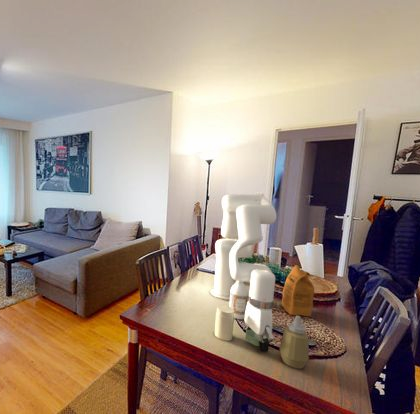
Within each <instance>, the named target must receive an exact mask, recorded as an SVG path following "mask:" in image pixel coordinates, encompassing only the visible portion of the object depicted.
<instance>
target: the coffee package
mask: <svg viewBox="0 0 420 414" xmlns="http://www.w3.org/2000/svg"><path fill="white" fill-rule="evenodd" d="M310 275H311V273H310V272H308V271H305V270H302V269H301V267H300V266H299V265H298V264H295V265H294V267H293V268H292V269H291V271H290V272H289V274H287V277H286V279H285V283H284V285H283V290H282V299H281V307H283V309H284V311H285V312H287V314H289V315H291V316H303V317H312V311H313V307H314V295H315V286H314V285H313V283H312V281H311V280H310V278H309V276H310Z"/></svg>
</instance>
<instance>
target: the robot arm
mask: <svg viewBox="0 0 420 414" xmlns="http://www.w3.org/2000/svg"><path fill="white" fill-rule="evenodd" d="M221 208H222V211H223V216H222V222H221V228H220V235H221V237H222V238H220V239H217V240H216V241H215V244H214V249H215V270H214V282H213V288H212V289H210V294H211V295H212V296H213V297H215V298H218V299H221V300H225V301H230V291H231V288H232V286H233V285H234V284H235V283H236V281H242V282H244V283H249V291H248V301H247V306H246V311H245V315H244V316H245V318H244V319H243V321H244V323H245V328H246V331H247V330H253V331H254V332H255V333H256V334H258V335H260V339H261V341H259V346H258V352H259V353H262V352H263V353H269V348H270V344H271V343H272V342H273V341H275V336H274V335H273V320H274V319H273V305H274V296H275V286H276V275H275V274H274V273H273V271H272V270H271V269H270V267H269V266H267V265H266V264H258V263H247V262H240V261H239V259H240V258H241V259H249V258H251V257H252V256H253V255H254V251H255V247H256V244H259V243H261V242H262V241H263V240H264V239H263V230H262V225H273V224H274V223H276V220H277V211H276V209H275V207H274V206H273V204H272V203H271V202H270V201H269V199H268V198H267V197H266V196H264V195H262V194H237V193H233V194H225V195H224V196H222V199H221ZM246 331H245V332H246ZM263 333H264V334H263ZM263 335H266V338H265V339H264V338H263Z"/></svg>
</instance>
